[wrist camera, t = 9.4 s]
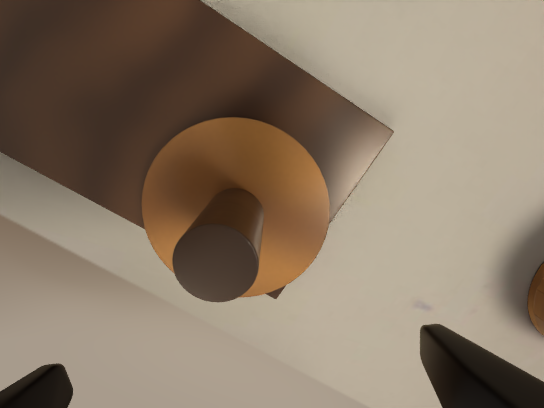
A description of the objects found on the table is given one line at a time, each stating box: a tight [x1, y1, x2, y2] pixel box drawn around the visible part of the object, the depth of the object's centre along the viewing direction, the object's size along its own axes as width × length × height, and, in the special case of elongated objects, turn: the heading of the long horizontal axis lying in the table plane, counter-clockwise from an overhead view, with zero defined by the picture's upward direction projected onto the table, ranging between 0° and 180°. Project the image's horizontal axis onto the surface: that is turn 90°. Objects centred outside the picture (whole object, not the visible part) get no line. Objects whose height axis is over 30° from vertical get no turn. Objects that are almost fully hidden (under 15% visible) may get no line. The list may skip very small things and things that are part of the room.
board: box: [0, 0, 394, 299], centre depth 15 cm, size 24×12×1 cm, turn 59°
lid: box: [141, 117, 330, 302], centre depth 13 cm, size 10×10×7 cm
